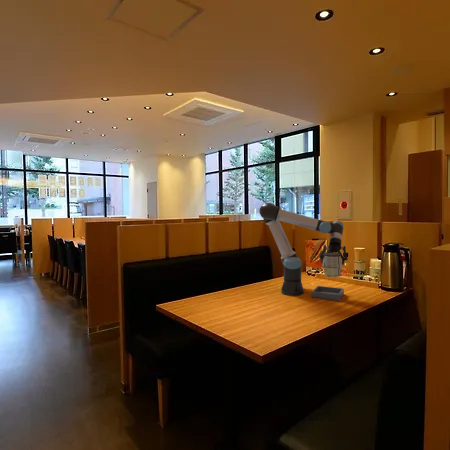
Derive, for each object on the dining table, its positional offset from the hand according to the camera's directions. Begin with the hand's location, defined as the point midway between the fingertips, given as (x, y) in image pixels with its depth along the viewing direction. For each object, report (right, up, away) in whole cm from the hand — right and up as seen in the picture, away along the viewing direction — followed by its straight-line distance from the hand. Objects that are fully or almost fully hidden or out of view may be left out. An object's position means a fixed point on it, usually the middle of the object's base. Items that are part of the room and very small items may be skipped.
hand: (331, 267), depth 201 cm
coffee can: (+2, -6, +3) cm, 6 cm away
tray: (-1, -19, +5) cm, 20 cm away
